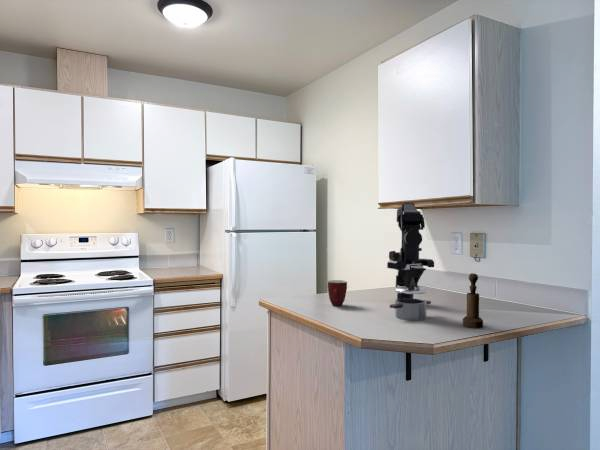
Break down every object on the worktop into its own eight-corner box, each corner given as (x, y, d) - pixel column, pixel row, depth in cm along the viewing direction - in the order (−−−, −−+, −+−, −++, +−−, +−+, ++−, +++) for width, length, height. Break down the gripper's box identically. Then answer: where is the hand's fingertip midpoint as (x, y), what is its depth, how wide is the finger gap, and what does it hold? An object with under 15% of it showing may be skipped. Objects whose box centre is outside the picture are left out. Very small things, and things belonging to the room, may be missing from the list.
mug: (347, 308, 173) (347, 284, 173) (327, 308, 174) (327, 283, 174) (346, 303, 184) (346, 280, 184) (327, 303, 185) (327, 279, 184)
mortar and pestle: (459, 323, 150) (459, 272, 150) (477, 323, 150) (477, 272, 150) (468, 328, 143) (468, 274, 143) (486, 328, 144) (487, 274, 143)
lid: (410, 287, 167) (410, 275, 167) (433, 292, 157) (434, 278, 157) (388, 290, 161) (388, 276, 161) (410, 295, 151) (410, 280, 151)
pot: (417, 311, 169) (417, 296, 169) (439, 317, 159) (439, 301, 159) (381, 316, 159) (382, 300, 159) (402, 323, 150) (403, 305, 150)
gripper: (413, 243, 171) (413, 282, 171) (377, 244, 161) (377, 286, 161) (435, 245, 161) (434, 286, 161) (398, 246, 152) (397, 290, 152)
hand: (410, 287), depth 159 cm, fingers closed on lid, 3 cm apart
